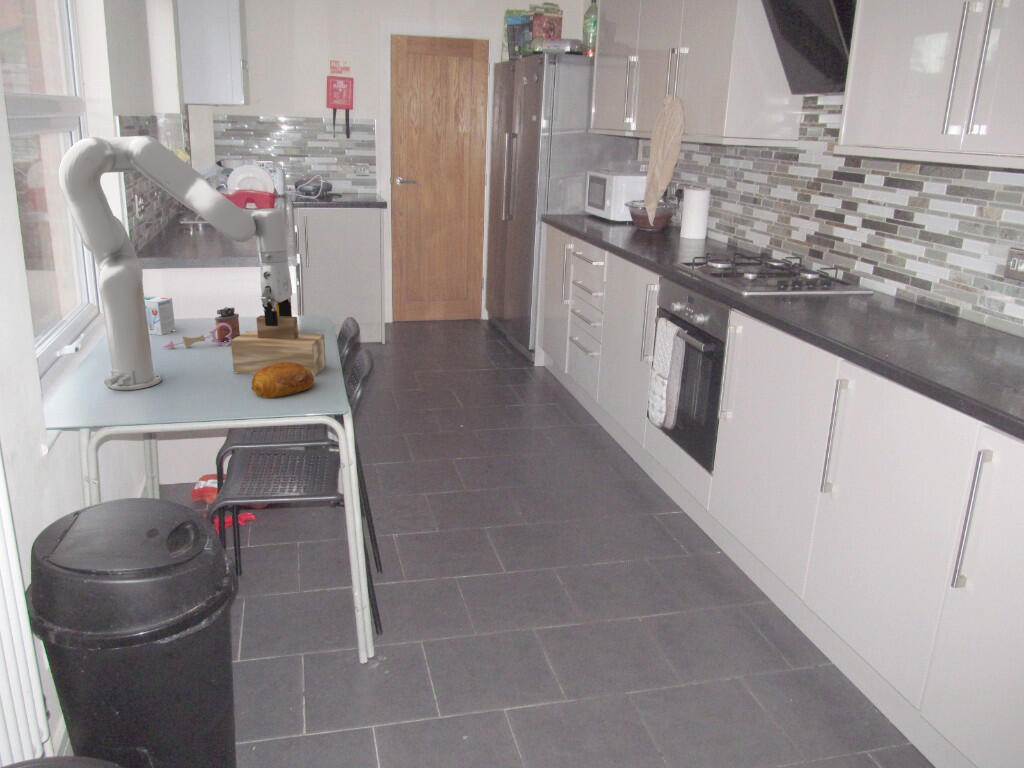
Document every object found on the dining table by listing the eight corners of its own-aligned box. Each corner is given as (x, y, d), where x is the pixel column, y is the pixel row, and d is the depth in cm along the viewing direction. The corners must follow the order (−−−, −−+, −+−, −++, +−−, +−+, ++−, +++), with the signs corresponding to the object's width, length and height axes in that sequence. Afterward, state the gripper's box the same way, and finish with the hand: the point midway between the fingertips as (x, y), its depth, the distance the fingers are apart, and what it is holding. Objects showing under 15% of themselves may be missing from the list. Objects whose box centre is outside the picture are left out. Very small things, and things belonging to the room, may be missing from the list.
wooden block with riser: (312, 351, 214) (310, 323, 211) (231, 347, 216) (228, 320, 213) (324, 341, 223) (323, 314, 221) (246, 338, 225) (244, 311, 223)
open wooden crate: (314, 376, 216) (312, 347, 213) (233, 373, 218) (231, 344, 215) (325, 366, 225) (324, 338, 223) (249, 362, 227) (246, 334, 225)
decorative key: (166, 358, 241) (235, 342, 246) (166, 359, 240) (235, 343, 245) (159, 336, 239) (229, 321, 244) (159, 337, 237) (229, 322, 243)
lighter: (235, 336, 255) (232, 304, 252) (243, 337, 253) (240, 306, 250) (214, 341, 248) (211, 309, 245) (222, 343, 246) (219, 311, 243)
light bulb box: (133, 332, 257) (129, 299, 254) (148, 328, 263) (144, 295, 260) (162, 335, 254) (158, 301, 251) (176, 330, 260) (172, 297, 257)
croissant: (322, 398, 206) (325, 367, 204) (265, 403, 196) (267, 370, 194) (293, 383, 216) (296, 354, 214) (238, 387, 205) (240, 356, 204)
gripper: (274, 263, 204) (280, 329, 209) (298, 252, 220) (303, 314, 225) (245, 262, 205) (252, 329, 210) (271, 251, 221) (277, 313, 226)
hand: (278, 321), depth 218 cm, fingers open, 9 cm apart
